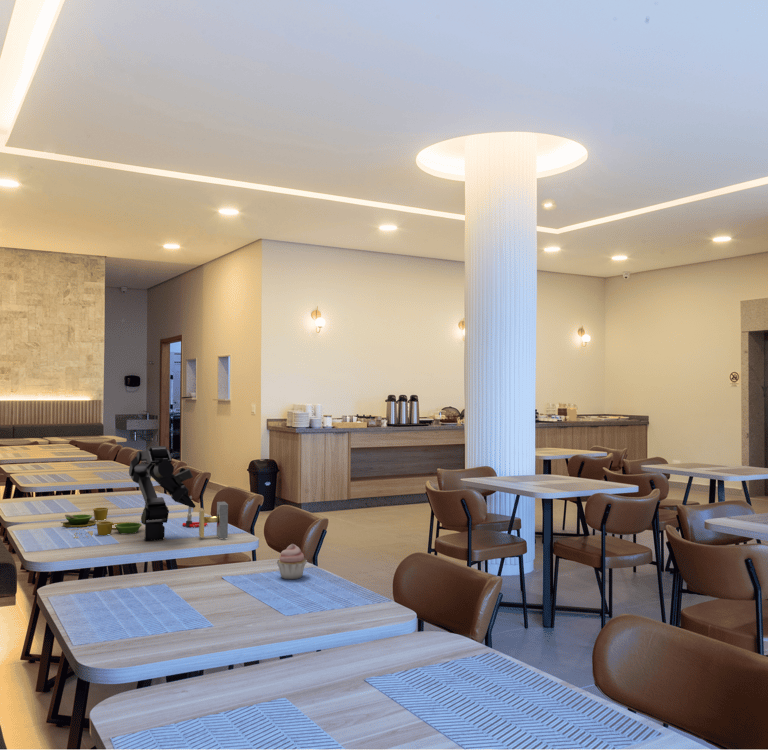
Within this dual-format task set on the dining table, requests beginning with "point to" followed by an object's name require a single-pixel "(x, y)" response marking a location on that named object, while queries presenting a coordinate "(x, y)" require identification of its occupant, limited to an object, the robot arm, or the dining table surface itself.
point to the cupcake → (291, 563)
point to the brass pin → (205, 521)
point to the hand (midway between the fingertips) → (193, 505)
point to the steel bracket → (222, 520)
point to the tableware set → (99, 523)
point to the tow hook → (189, 522)
